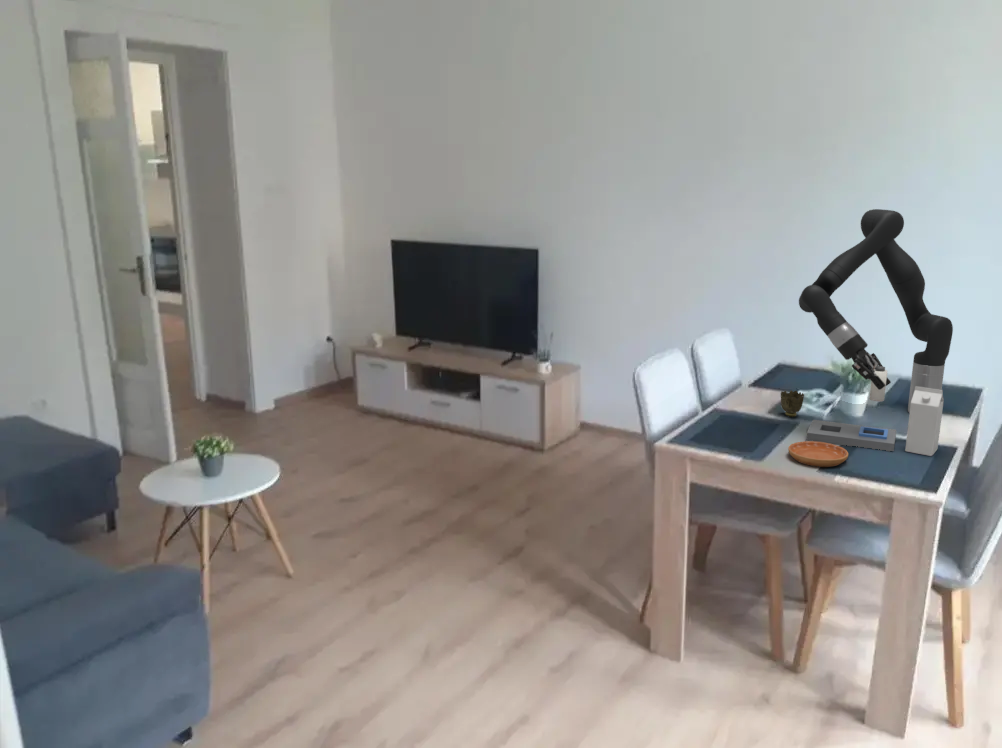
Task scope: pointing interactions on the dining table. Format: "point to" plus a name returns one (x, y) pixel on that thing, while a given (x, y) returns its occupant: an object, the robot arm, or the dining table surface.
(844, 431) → the block with square holes
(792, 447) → the saucer
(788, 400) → the cup
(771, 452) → the dining table surface
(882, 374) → the capped white bottle
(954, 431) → the dining table surface
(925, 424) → the milk carton
